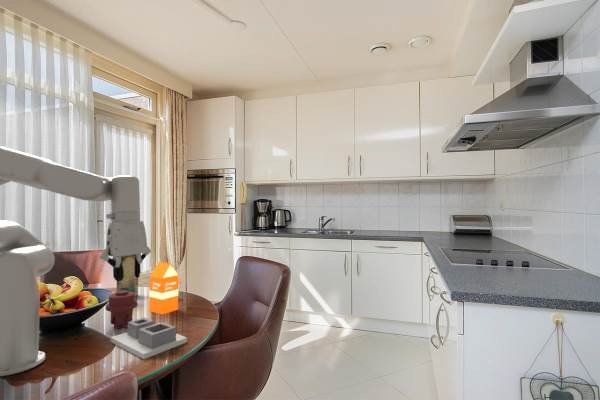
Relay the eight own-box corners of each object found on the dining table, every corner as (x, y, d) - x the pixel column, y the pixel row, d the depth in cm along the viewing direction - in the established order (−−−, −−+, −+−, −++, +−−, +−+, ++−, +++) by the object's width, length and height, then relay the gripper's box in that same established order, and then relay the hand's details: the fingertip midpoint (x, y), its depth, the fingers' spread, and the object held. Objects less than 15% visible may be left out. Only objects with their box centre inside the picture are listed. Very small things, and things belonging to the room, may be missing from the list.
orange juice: (161, 314, 127) (162, 264, 127) (148, 310, 131) (149, 262, 132) (178, 309, 133) (179, 262, 134) (165, 306, 138) (166, 260, 139)
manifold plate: (143, 359, 89) (143, 339, 89) (110, 342, 100) (110, 324, 101) (186, 342, 100) (186, 324, 100) (152, 328, 112) (152, 312, 112)
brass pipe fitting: (123, 288, 90) (122, 253, 91) (116, 286, 93) (115, 252, 93) (138, 285, 94) (137, 251, 94) (131, 283, 96) (130, 250, 97)
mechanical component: (143, 321, 119) (123, 331, 109) (120, 320, 121) (98, 329, 111) (143, 288, 119) (123, 296, 109) (120, 287, 121) (99, 294, 111)
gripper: (100, 218, 85) (101, 286, 84) (159, 216, 98) (161, 274, 98) (89, 218, 89) (90, 283, 89) (147, 216, 103) (148, 272, 102)
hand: (127, 277), depth 93 cm, fingers closed on brass pipe fitting, 4 cm apart
